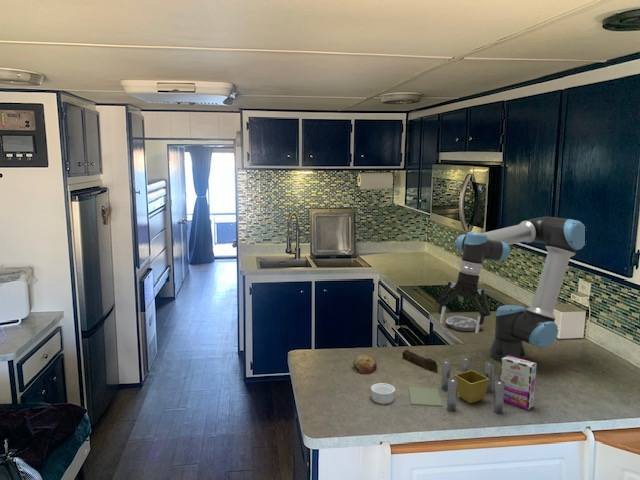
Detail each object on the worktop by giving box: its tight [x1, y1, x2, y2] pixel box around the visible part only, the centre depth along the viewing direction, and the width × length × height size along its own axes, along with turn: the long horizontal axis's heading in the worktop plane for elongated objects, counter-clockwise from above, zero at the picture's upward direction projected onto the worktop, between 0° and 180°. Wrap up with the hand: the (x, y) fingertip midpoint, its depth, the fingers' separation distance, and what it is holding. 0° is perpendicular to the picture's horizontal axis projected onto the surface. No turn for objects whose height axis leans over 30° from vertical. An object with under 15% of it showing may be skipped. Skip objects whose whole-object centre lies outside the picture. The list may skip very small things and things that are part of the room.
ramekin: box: [370, 382, 396, 405], centre depth 187 cm, size 9×9×4 cm
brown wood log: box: [401, 349, 438, 373], centre depth 217 cm, size 19×4×5 cm, turn 32°
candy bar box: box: [499, 355, 538, 411], centre depth 183 cm, size 11×5×16 cm, turn 45°
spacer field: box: [440, 356, 505, 415], centre depth 188 cm, size 19×23×11 cm
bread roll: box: [352, 354, 378, 375], centre depth 213 cm, size 10×10×8 cm
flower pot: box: [454, 369, 489, 404], centre depth 186 cm, size 9×9×9 cm
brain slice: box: [445, 315, 484, 333], centre depth 265 cm, size 20×17×3 cm
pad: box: [408, 386, 443, 407], centre depth 189 cm, size 11×13×1 cm
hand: (458, 327), depth 193 cm, fingers open, 13 cm apart
